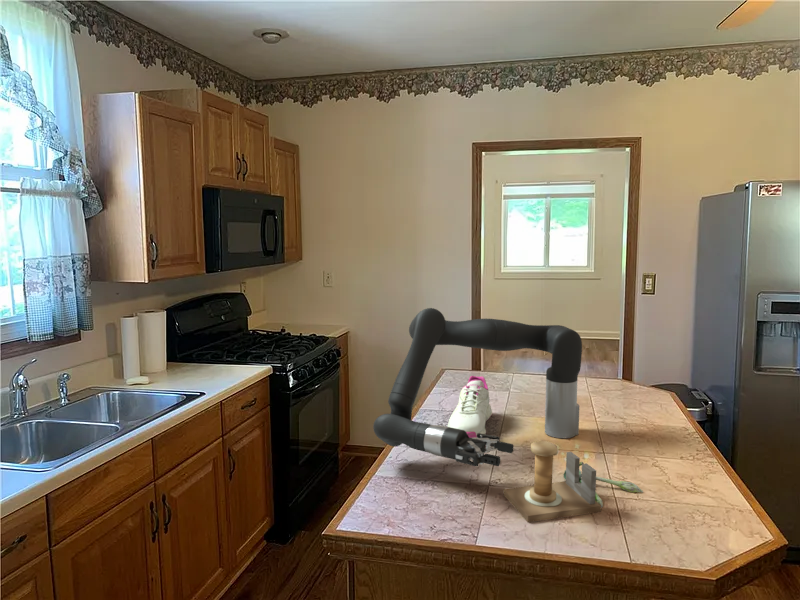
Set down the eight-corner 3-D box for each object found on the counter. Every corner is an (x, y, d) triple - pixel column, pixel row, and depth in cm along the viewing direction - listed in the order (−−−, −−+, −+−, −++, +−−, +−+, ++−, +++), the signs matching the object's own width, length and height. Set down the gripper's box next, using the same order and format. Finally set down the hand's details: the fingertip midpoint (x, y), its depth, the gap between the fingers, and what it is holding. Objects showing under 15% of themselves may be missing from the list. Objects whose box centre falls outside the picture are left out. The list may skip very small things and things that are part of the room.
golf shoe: (441, 448, 167) (440, 398, 165) (456, 411, 199) (456, 369, 197) (484, 452, 164) (484, 401, 162) (493, 413, 196) (493, 370, 194)
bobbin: (548, 489, 137) (549, 439, 136) (560, 501, 132) (562, 449, 130) (525, 492, 136) (526, 442, 134) (536, 504, 130) (538, 452, 129)
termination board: (571, 486, 143) (572, 449, 142) (600, 511, 130) (602, 472, 129) (503, 495, 139) (504, 457, 137) (527, 522, 126) (528, 481, 125)
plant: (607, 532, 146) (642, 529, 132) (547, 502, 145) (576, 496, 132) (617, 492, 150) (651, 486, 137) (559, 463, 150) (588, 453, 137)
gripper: (432, 436, 139) (495, 450, 131) (458, 419, 151) (517, 430, 143) (432, 466, 140) (495, 481, 132) (457, 446, 152) (516, 459, 144)
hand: (506, 455), depth 137 cm, fingers open, 8 cm apart
